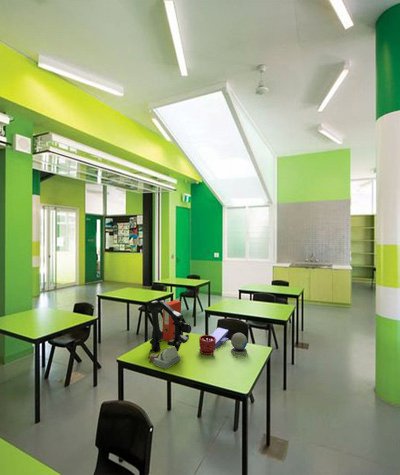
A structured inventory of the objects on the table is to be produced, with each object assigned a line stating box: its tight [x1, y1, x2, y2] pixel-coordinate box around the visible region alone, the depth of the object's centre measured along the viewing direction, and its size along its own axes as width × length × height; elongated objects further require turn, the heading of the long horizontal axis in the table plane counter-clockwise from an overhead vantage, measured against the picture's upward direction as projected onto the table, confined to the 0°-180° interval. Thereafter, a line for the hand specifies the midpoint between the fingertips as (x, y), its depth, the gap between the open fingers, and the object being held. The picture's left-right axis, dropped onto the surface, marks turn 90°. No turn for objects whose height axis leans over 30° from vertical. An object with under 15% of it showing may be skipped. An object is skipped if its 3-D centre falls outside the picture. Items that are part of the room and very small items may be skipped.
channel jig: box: [153, 355, 181, 370], centre depth 198 cm, size 11×16×4 cm
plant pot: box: [198, 334, 216, 356], centre depth 217 cm, size 13×13×12 cm
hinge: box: [159, 346, 180, 362], centre depth 201 cm, size 17×5×10 cm, turn 147°
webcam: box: [230, 332, 248, 356], centre depth 221 cm, size 13×13×15 cm
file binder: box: [161, 299, 182, 342], centre depth 249 cm, size 8×17×32 cm, turn 150°
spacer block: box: [148, 352, 160, 363], centre depth 201 cm, size 5×5×4 cm
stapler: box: [207, 327, 229, 350], centre depth 238 cm, size 12×28×10 cm, turn 148°
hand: (177, 351), depth 209 cm, fingers closed
